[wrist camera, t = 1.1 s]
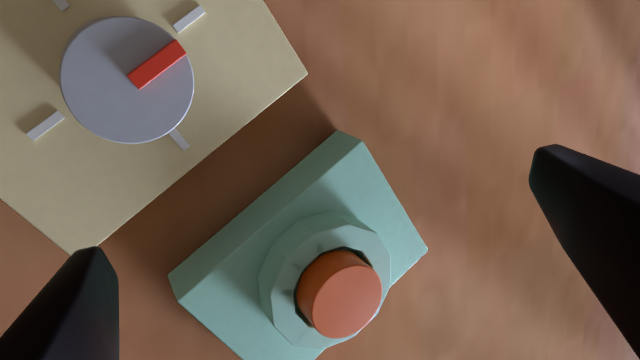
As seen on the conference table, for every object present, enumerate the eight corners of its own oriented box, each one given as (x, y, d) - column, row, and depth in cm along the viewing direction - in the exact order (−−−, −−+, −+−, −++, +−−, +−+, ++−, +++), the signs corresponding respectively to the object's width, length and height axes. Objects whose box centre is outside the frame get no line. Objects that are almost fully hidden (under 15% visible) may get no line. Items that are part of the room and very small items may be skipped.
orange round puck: (321, 333, 25) (337, 353, 24) (281, 289, 23) (295, 307, 22) (376, 281, 26) (395, 297, 24) (341, 234, 24) (359, 248, 22)
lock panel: (76, 238, 22) (77, 264, 20) (-137, 58, 17) (-167, 65, 15) (288, 68, 24) (310, 74, 22) (156, -136, 19) (168, -156, 17)
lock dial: (114, 141, 19) (125, 171, 15) (34, 58, 17) (25, 70, 13) (192, 80, 20) (220, 95, 16) (124, -7, 18) (139, -12, 14)
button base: (263, 363, 29) (292, 415, 25) (166, 275, 25) (184, 322, 21) (402, 233, 31) (449, 263, 27) (337, 129, 27) (382, 148, 23)
